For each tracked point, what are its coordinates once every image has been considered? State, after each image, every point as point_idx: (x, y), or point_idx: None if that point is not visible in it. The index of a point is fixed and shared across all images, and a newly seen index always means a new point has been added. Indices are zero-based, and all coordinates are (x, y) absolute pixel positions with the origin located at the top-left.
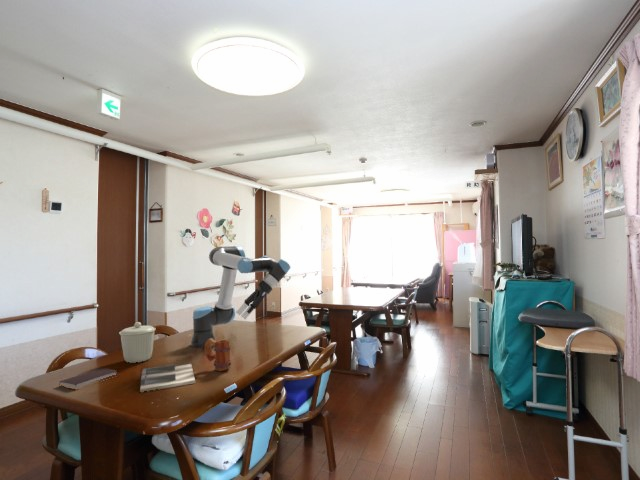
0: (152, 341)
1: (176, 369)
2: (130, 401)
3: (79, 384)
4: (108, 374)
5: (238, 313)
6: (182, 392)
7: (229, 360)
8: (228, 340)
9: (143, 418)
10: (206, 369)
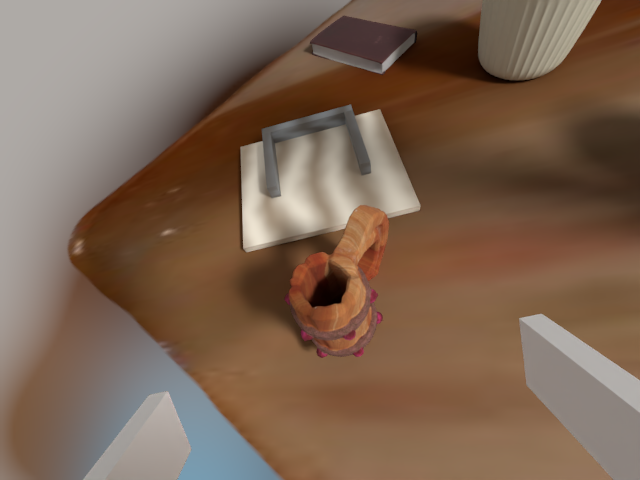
0: (547, 26)
1: (367, 178)
2: (204, 152)
3: (316, 46)
4: (365, 59)
5: (530, 360)
6: (195, 234)
7: (328, 346)
8: (323, 317)
9: (109, 197)
10: None
